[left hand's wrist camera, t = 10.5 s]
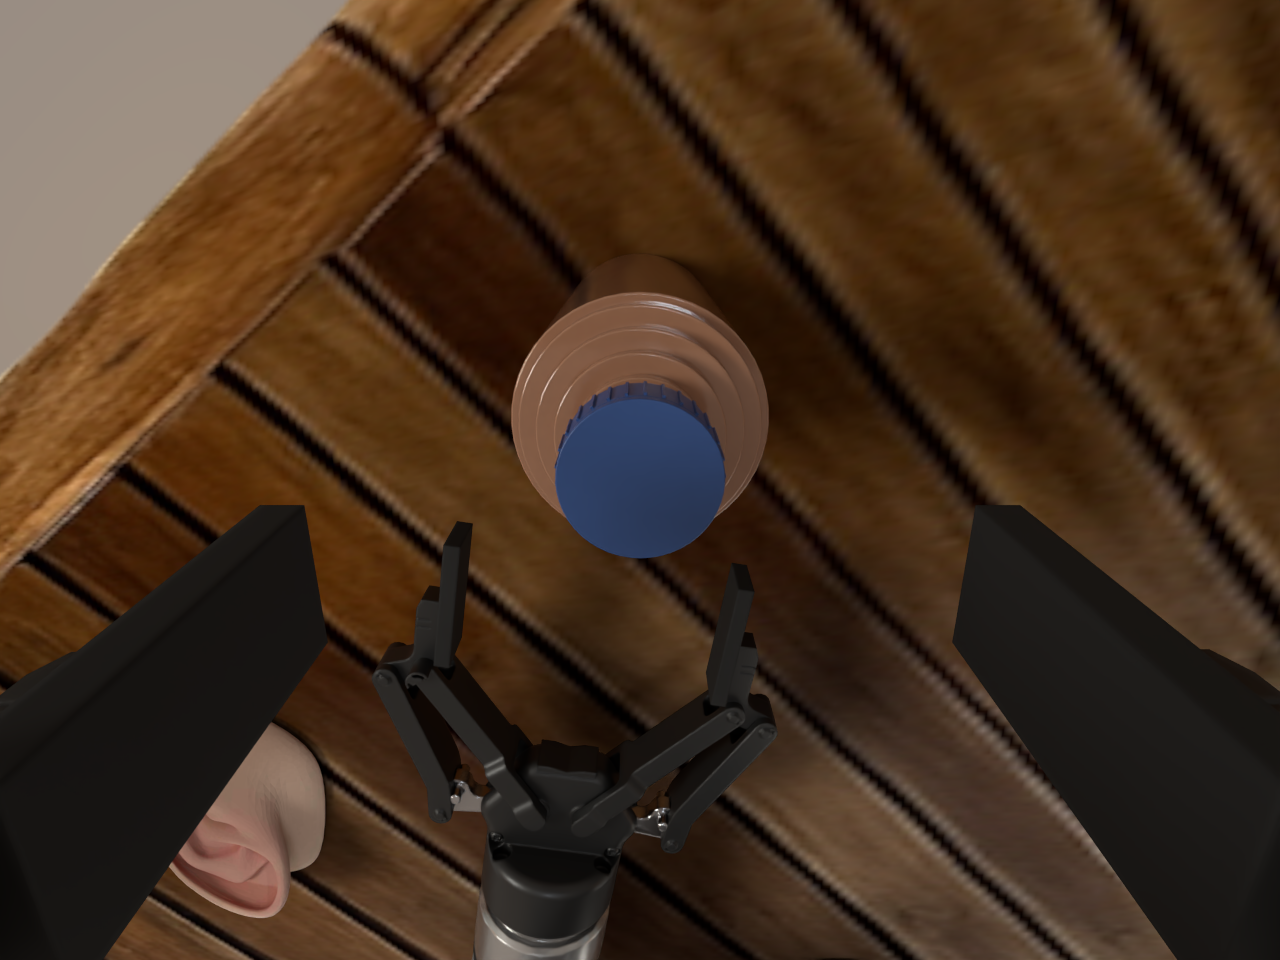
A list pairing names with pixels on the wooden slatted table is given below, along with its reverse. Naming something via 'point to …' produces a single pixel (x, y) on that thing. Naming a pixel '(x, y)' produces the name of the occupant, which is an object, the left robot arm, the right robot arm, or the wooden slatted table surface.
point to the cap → (640, 470)
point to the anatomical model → (258, 829)
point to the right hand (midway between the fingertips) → (602, 554)
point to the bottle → (640, 365)
